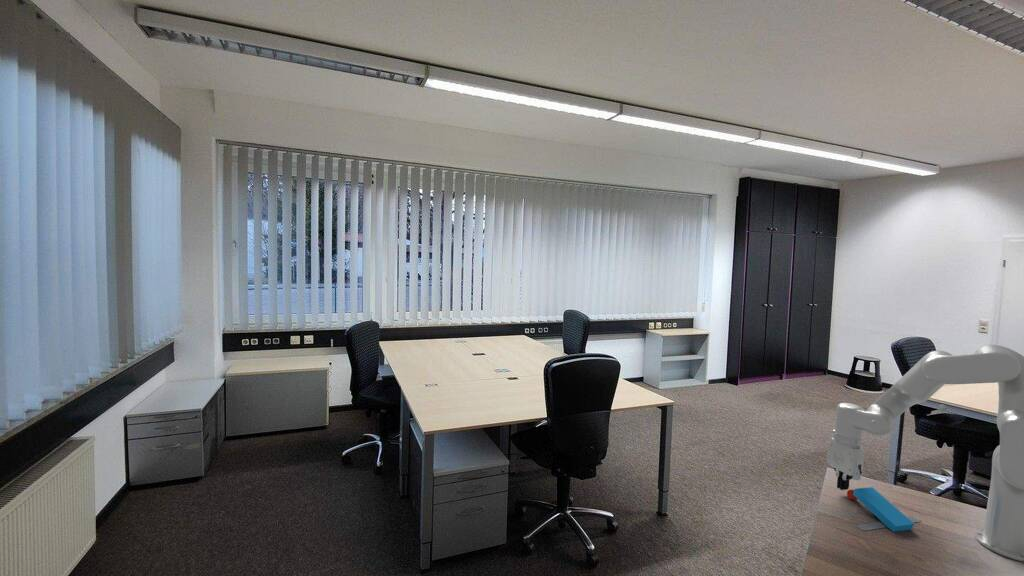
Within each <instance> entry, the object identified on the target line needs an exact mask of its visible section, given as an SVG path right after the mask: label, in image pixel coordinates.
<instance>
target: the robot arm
mask: <svg viewBox="0 0 1024 576" xmlns="http://www.w3.org/2000/svg"><path fill="white" fill-rule="evenodd" d="M994 383H997V385H998V409H997V417H996V426H997V429H998V431H999V445H997V446H996V447H995V449H994V450H993V454H992V457H991V474H990V475H991V477H990V484H989V485H990V486H989V490H988V497H987V504H986V511H985V518H984V519H985V520H984V526H983V529H978V530H976V531H975V540H977V541H978V542H979V543H980V544H981V545H982V546H984V547H985V548H987V549H988V550H991V551H992V552H994V553H996V554H998V555H1001V556H1003V557H1006V558H1009V559H1012V560H1015V561H1020V562H1023V563H1024V355H1023V354H1021V353H1019V352H1017V351H1015V350H1013V349H1011V348H1009V347H1006V346H1003V345H998V344H986V345H983V346H981V347H979V348H978V349H976V351H974V353H967V354H951V353H950V352H947V351H943V350H931V351H930V352H928V353H926V354H925V355H924V356H923V357H921V359H919V360H918V361H917V362H916V363H915V364H914V365H913V366H912V367H911V368H910V369H909V370H908V371H907V372H906V373H905V374H903V376H901V377H900V378H899V379H898V380H897V381H896V382H895V383H893V385H891V387H890V388H888V389H887V390H886V391H884V393H882V394H881V395H879V397H878V398H876V400H875V401H873V403H872V404H871V405H870V406H869V407H868V408H867V409H866V411H865V409H864V408H863V407H861V406H860V405H857V404H855V403H850V402H840V403H838V404H837V406H836V412H835V413H836V414H835V425H834V429H833V430H832V431H831V432H832V433H833V437H831V439H830V441H829V444H828V448H827V453H826V463H827V464H828V465H829V466H830V467H831V468H832V469H833V470H834V472H835V476H836V477H837V480H836V488H838V489H839V490H840V491H846V490H847V491H848V490H849V487H850V480H855V481H861V479H862V478H861V476H862V475H863V473H864V449H863V447H862V437H863V431H864V432H866V433H868V434H870V435H875V436H879V437H884V436H888V435H890V434H891V433H892V431H893V429H894V422H895V421H896V420H897V419H898V418H899V417H900V416H901V415H902V414H903V413H905V411H907V410H908V409H910V408H911V407H912V406H914V405H918V404H923V403H925V402H927V401H928V400H929V399H930V398H931V397H932V396H933V395H934V394H936V393H937V392H938V391H939V390H940V389H941V388H942V387H943V386H944V385H970V384H972V385H975V384H994Z"/></svg>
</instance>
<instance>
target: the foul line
mask: <svg viewBox="0 0 1024 576" xmlns="http://www.w3.org/2000/svg"><path fill="white" fill-rule="evenodd" d="M906 517H907V516H906ZM907 518H908V519H909V520H911V521H912V522H913V523H914V524H915V523H920V522H922V521H921V520H920V519H918V518H916V517H914V516H908V517H907ZM855 527H856V528H858V529H859V530H861V531H863V532H866V531H872V530H877V529H885V528H888V527H887V526H886V525H885V524H884V523H883V522H882V521H881V520H880V521H876V522H869V523H863V524H857V525H855Z"/></svg>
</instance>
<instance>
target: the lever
mask: <svg viewBox="0 0 1024 576" xmlns="http://www.w3.org/2000/svg"><path fill="white" fill-rule="evenodd" d="M846 495H847V497H848V499H850V500H852V501H859V502H860V503H862V505H864V507H866V508H867V510H869V512H871V513H872V514H874V516H876V518H877V519H879V520H880V522H881V521H882V522H883V523H884V524H885V525H886V526H887V527H886V528H888V529H889V530H891V532H903V531H910V530H912V529H913V528H914V526H915V523H913V522H912V521H911V520H909V519H908V518H907V515H905V514H904V513H903V512H901V511H900V510H899V509H898V508H897V507H896V506H895V505H894V504H893V503H891V502H890V501H889V500H888V499H887V498H886V497H884V496H883V495H882V493H880V492H878V491H877V490H876V489H875V488H874V487H871V486H870V487H859V488H854V489H847V492H846Z"/></svg>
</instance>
